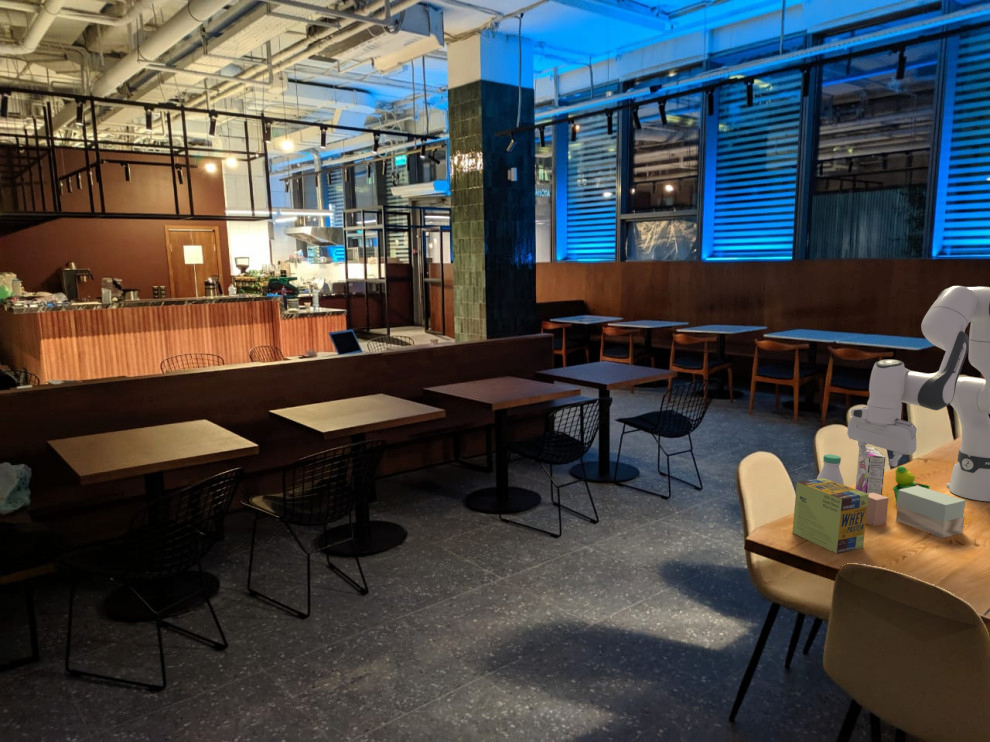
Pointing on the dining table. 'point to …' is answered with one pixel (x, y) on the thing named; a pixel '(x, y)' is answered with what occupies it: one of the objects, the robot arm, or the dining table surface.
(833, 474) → the milk bottle
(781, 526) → the dining table surface
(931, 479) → the dining table surface
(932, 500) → the tower top
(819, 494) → the protein box
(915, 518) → the tower base
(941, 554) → the dining table surface
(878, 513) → the block
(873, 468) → the candy bar box
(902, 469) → the green toy figure
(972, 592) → the dining table surface
